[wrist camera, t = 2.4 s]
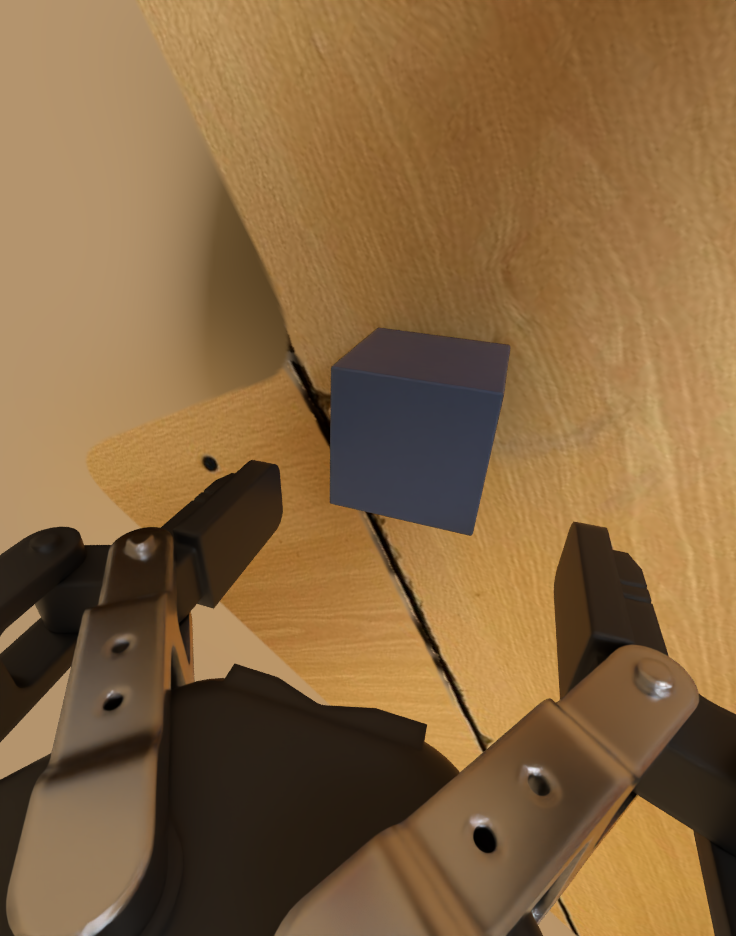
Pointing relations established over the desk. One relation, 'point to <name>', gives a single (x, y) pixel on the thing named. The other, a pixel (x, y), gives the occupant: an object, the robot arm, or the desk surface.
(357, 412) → the cube
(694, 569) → the desk surface
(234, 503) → the robot arm
